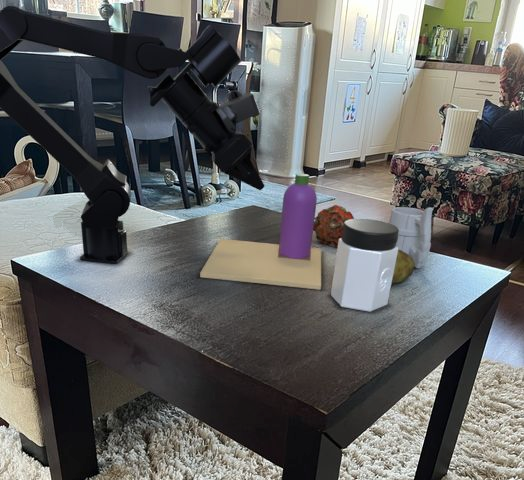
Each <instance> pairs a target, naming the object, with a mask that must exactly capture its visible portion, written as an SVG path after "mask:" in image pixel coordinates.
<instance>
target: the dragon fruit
mask: <svg viewBox="0 0 524 480" xmlns="http://www.w3.org/2000/svg"><path fill="white" fill-rule="evenodd" d="M351 219H355V217H354V215H353V214H352V213H351V211H347V209H346V207H344V206H341V205H338V204H334V205H332V206H330V207H327V208H323V209H322V210H320V211H319V212H317V216H315V219H314V228H313V232H315V238H316V240H317V241H318V242H319V243H322V244H326V245H328V246H330V247H333V248H338V241H339V239H340V238H342V233H343V226H344V223H345V222H346V221H347V220H351Z"/></svg>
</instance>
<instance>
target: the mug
mask: <svg viewBox="0 0 524 480" xmlns="http://www.w3.org/2000/svg"><path fill="white" fill-rule="evenodd" d="M433 211H434V208H433V207H426V208H425V209H424V210H422V209H418V208H415V207H407V206H406V207H404V206H397V207H393V208H392V209H391V211H390V212H391V213H390V218H389V222H388V223H390V224H392V225H394V226H396V227H397V228H398V229H399V233H398V240H397V243H396V246H397V247H398V249H399V250H401V251H403V252H405V253H407V254H408V255H410V256H411V257H412V258H413V260H414V263H415V266H414V268H416V269H421V268H422V267H423V265H424V263H426V261H427V259H428V257H429V253H430V249H431V247H432V243H431V241H432V240H431V239H432V215H433Z"/></svg>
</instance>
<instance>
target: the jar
mask: <svg viewBox="0 0 524 480" xmlns="http://www.w3.org/2000/svg"><path fill="white" fill-rule="evenodd" d="M398 233H399V229H398V228H397V227H396V226H394V225H392V224H390V223H389V222H387V221H384V220H378V219H372V218H371V219H370V218H354V219H351V220H347V221H346V222H345V223H344V226H343V233H342V238H340V239H339V241H338V246H337V247H336V248H337V249H336V255H335V262H334V270H333V276H332V283H331V291H330V296H331V298H333V299H334V300H335V302H336V303H337V304H338V305H339V306H340V307H341V308H346V309H350V310H357V311H364V312H368V313H371V312H373V311H376V310H378V309H380V308H383V307H386V306H387V305H388V303H389V297H390V293H391V292H390V291H391V289H392V284H391V283H392V278H393V273H394V268H395V263H396V258H397V253H398V247H397V246H396V243H397V240H398Z"/></svg>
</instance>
